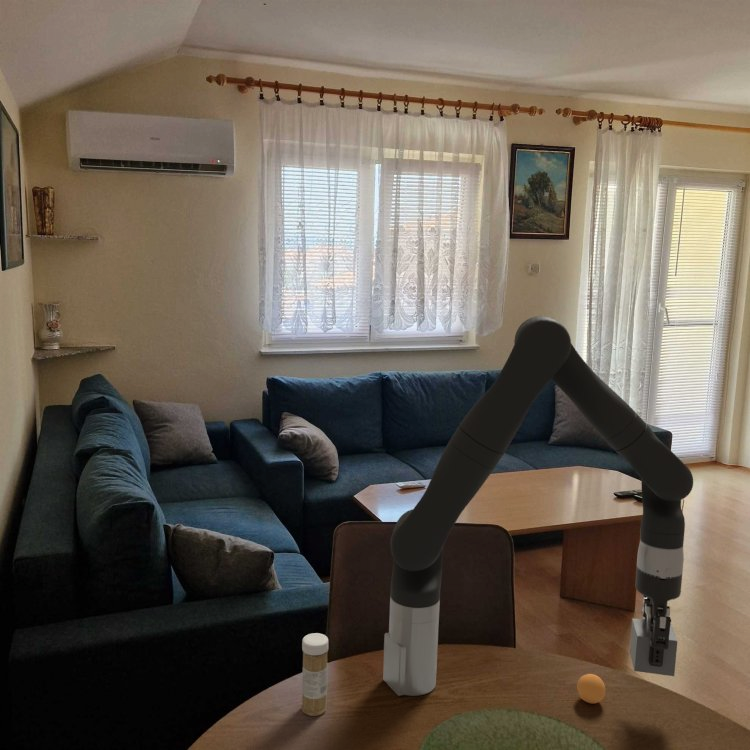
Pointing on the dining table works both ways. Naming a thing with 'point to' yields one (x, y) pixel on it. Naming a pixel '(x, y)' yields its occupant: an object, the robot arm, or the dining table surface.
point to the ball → (591, 688)
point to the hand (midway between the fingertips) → (652, 654)
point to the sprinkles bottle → (314, 674)
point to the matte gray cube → (642, 648)
